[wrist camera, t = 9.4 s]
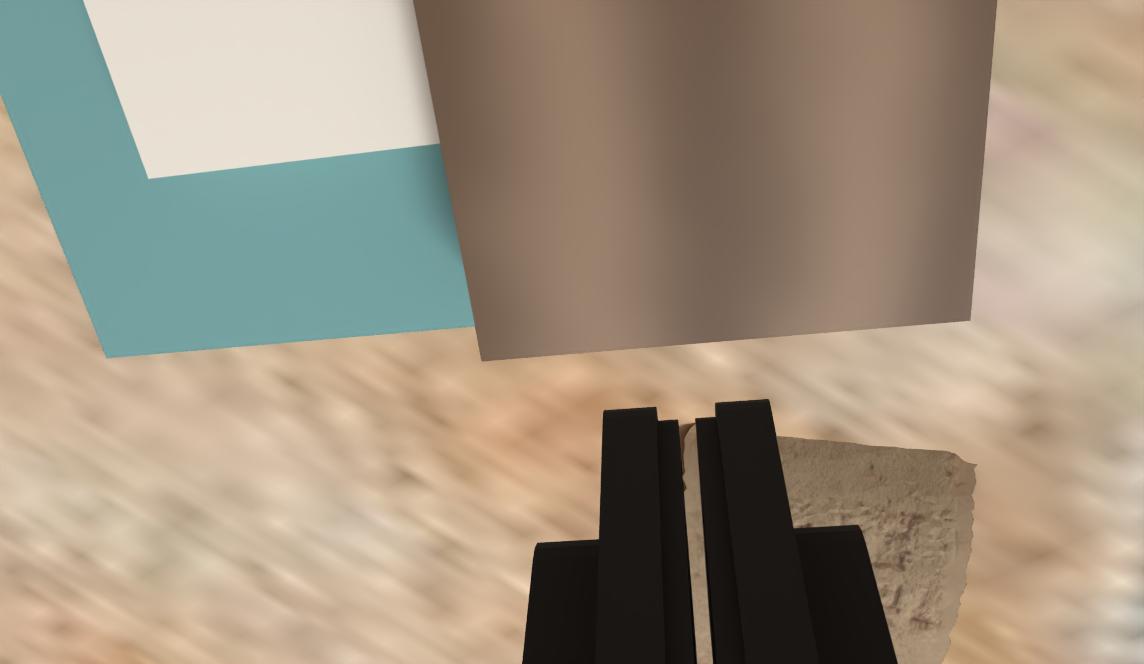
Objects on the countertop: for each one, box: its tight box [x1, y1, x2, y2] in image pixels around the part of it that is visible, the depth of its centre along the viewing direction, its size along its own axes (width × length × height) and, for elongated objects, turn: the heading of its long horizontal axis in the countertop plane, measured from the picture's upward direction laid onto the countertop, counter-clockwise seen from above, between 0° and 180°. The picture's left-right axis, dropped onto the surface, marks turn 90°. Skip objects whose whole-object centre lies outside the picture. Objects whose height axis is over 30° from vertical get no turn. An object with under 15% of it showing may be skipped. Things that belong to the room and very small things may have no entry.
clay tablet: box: [683, 424, 977, 664], centre depth 39 cm, size 14×10×3 cm
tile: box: [83, 0, 440, 179], centre depth 28 cm, size 8×6×2 cm
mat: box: [0, 0, 475, 358], centre depth 29 cm, size 12×18×1 cm, turn 7°
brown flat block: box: [413, 0, 997, 361], centre depth 27 cm, size 13×16×4 cm
